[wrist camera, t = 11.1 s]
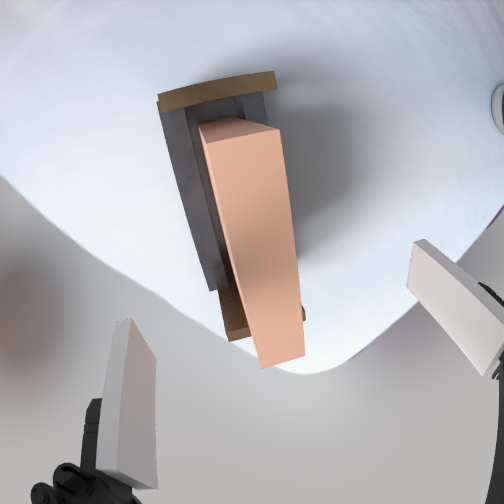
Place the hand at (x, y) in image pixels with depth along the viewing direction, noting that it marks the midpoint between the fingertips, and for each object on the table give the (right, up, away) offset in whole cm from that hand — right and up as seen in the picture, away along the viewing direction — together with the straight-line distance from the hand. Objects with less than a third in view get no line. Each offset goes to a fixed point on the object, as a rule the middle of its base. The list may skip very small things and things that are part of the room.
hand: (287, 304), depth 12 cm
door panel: (-3, +8, +14) cm, 17 cm away
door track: (-4, +8, +15) cm, 17 cm away
